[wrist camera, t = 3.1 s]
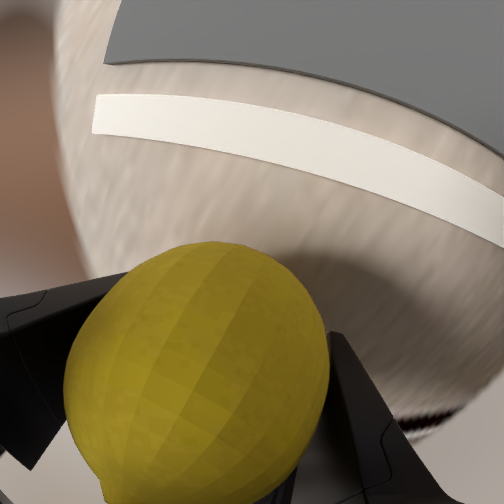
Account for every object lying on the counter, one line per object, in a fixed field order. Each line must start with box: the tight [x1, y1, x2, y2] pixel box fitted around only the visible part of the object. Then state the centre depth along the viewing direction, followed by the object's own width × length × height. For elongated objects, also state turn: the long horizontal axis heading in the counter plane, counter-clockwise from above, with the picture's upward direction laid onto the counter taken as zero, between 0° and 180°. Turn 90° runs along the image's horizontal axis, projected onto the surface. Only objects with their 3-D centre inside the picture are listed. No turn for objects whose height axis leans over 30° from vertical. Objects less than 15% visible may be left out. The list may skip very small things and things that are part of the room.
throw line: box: [92, 94, 504, 248], centre depth 7 cm, size 2×16×1 cm, turn 79°
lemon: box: [63, 241, 330, 504], centre depth 6 cm, size 6×6×8 cm
